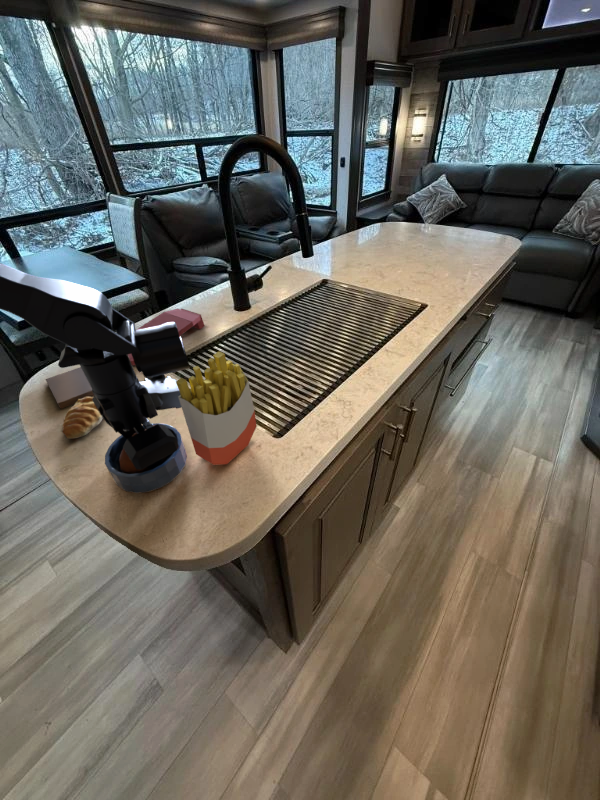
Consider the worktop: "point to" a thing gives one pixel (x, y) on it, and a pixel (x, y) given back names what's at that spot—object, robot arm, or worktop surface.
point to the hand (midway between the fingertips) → (149, 457)
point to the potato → (130, 463)
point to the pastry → (81, 418)
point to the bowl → (148, 478)
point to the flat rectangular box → (69, 387)
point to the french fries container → (218, 410)
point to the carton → (180, 317)
